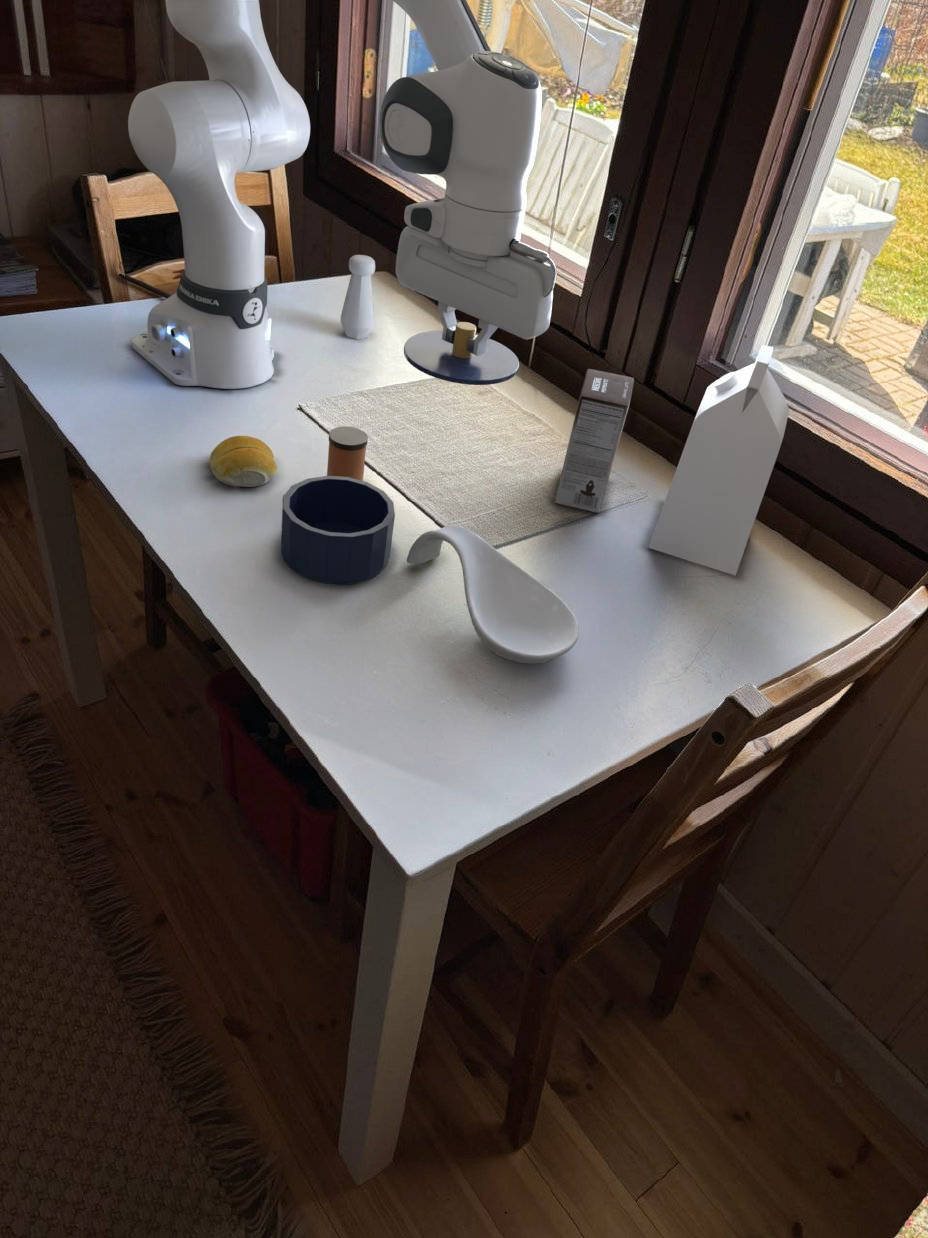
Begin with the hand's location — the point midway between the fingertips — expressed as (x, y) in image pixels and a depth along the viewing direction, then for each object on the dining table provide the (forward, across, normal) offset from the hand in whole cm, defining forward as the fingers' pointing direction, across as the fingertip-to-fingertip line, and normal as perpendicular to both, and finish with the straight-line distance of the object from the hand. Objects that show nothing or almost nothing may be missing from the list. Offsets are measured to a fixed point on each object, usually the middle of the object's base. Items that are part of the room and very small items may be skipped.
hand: (462, 346), depth 113 cm
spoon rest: (+21, -19, +16) cm, 32 cm away
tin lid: (+2, 0, 0) cm, 2 cm away
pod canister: (+21, +9, +9) cm, 24 cm away
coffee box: (+21, -12, -16) cm, 29 cm away
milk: (+21, -29, -19) cm, 41 cm away
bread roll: (+21, +20, +16) cm, 33 cm away
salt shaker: (+21, +42, -29) cm, 55 cm away
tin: (+21, 0, +20) cm, 29 cm away
